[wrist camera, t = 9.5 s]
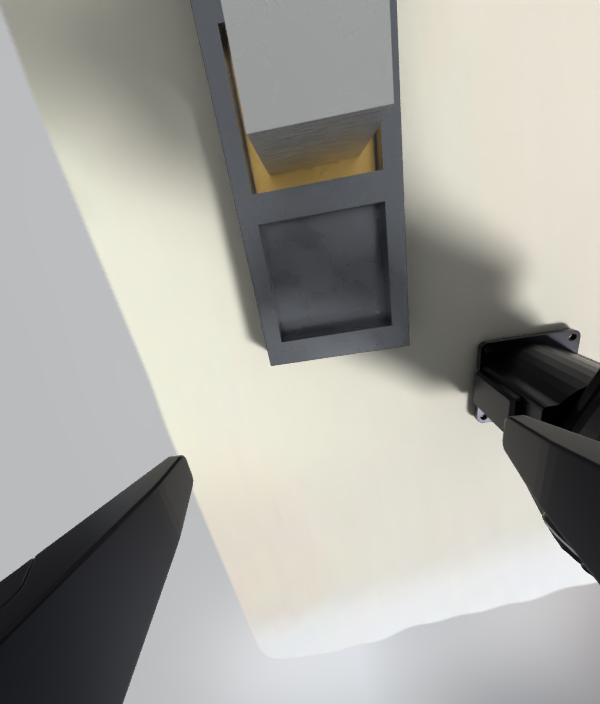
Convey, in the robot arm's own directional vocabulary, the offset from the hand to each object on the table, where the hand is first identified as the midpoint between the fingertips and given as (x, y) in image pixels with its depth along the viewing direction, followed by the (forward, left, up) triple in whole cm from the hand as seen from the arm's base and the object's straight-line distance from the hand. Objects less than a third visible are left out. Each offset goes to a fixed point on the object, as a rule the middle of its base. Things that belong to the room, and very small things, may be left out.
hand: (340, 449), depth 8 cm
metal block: (-1, -12, -12) cm, 17 cm away
